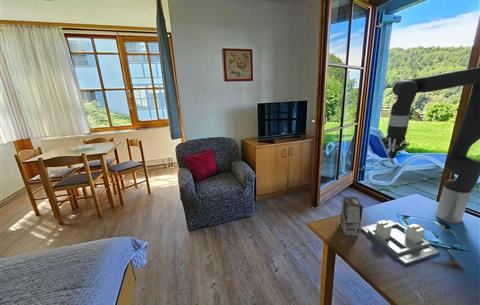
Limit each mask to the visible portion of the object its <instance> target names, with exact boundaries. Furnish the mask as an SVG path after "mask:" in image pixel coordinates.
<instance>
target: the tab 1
mask: <svg viewBox="0 0 480 305" xmlns="http://www.w3.org/2000/svg"><path fill="white" fill-rule="evenodd" d="M376 224H377V225H376V231H375V233H376V234H377V235H378V236H380V237H381V238H382V239H383V240H385V239H389V238H390V234H391V230H392V225H391V224H389V222H388V220H385V219H383V220H379V221H376Z"/></svg>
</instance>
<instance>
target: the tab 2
mask: <svg viewBox="0 0 480 305" xmlns="http://www.w3.org/2000/svg"><path fill="white" fill-rule="evenodd" d="M406 228H407V232H406V236H405V237H406V238H407V239H409V240H410V241H412V242H413V243H415V244H418V243H421V242H422V238H423V239H424V233H425V230H426V229H425V228H423V227H421V225H420V224H416V223H412V224H409V225H407V227H406Z"/></svg>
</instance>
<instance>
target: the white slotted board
mask: <svg viewBox="0 0 480 305" xmlns="http://www.w3.org/2000/svg"><path fill="white" fill-rule="evenodd" d="M387 221H388V222H389V224H391V225H392V230H391V234H390V238H389V239H385V240H383V239H382V238H381V237H380V236H378V235H377V234H376V233H375V231H376V225H377V223H374V224H370V225H369V224H368V225H365V226H362V227H361V226H360V231H362V232H363V233H364V234H366V236H368V237H369V238H370V239H371V240H373V241H374V242H375V243H377V245H379V246H381V247H382V248H383V249H384V250H386V251H387V253H389V254H390V255H392V257H394V258H395V259H397V261H398V262H399V263H401V264H402V265H404V266H408V265H410V264H413V263H417V262H420V261H422V260H425V259H429V258H432V257H435V256H438V255H440V254H441V251H440V250H438V249H436V248H435V247H433V246H432V245H430V244H431V242H429V241H428V240H426V239H424V237H423V238H422V242H421V243H418V244H415V243H413V242H412V241H410V240H409V239H407V238H406V237H405V236H406V234H405V232H404V230H406V231H407V227H406V226H405V225H404V226H403V225H402V224H401V223H399V222H397V221H396V222H394V221H393V220H391V219H388V220H387Z"/></svg>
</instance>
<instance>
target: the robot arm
mask: <svg viewBox="0 0 480 305" xmlns="http://www.w3.org/2000/svg"><path fill="white" fill-rule="evenodd" d="M469 85H472V88H471V91H470V96H469V99H468V102H467V104H466V109H465V112H464V114H463V116H462V119H461V123H460V125H459V130H458V132H457V134H456V138H455V140H454V143H453V145H452V147H451V149H450V151H449V154H448V155H447V157H446V159H445V163H444V168H445V170H446V171H447V172H449V173H452V174H453V175H456V176H457V178H456V179H452V178H451V179H447V180H445V182H444V184H443V188H442V191H441V195H440V198H439V201H438V205H437V209H436V212H435V216H436V218H438V219H440V220H441V221H444V222H446V223H449V224H456V225H457V224H461V222H462V220H463V218H464V215H465V210H466V208H467V205H468V202H469V200H470V196H471V193H472V190H473V189H474V187H475V186H476V185H477V183H478V180H479V178H480V160H477V159H474V158H471V157H468V153H469V150H470V149H471V147H472V146H473V145H474V144H475V143H477V141H479V140H480V65H479V66H478V67H473V68H467V69H461V70H455V71H454V70H453V71H447V72H442V73H441V72H440V73H436V74H435V73H434V74H431V75H426V76H423V77H418V78H417V77H416V78H411V79H409V78H408V79H404V80H400V81H398V82H396V83H395V84H394V85H392V86H393V87H392V89H391V91H392V93H393V94H394V95H395V96H397V97H396V100H395V102H394V103H393V104H392V105H391V110H390V116H389V119H388V125H387V130H386V136H385V137H381V141H382V143H383V145H384V148H385V149H387V150H388V151H389V152H388V158H389V159H391V160H392V159H396V157H397V154H398V152H402V151H404V150H405V149H406V148H407V147H408V146H410V142H407V140H406V135H407V132H408V128H409V124H410V123H409V121H410V113H411V108H412V105H413V102H414V100H416V99H415V98H416V96H417V94H419V93H420V94H421V93H422V94H423V93H430V92H436V91H438V92H439V91H441V90H442V91H443V90H446V89H452V88H457V87H462V86H469Z"/></svg>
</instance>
